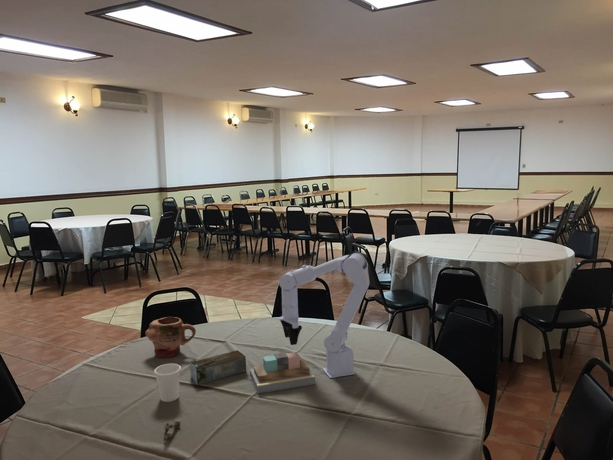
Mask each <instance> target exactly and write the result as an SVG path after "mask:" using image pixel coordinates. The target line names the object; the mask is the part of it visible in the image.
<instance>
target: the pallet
mask: <svg viewBox="0 0 613 460" xmlns="http://www.w3.org/2000/svg"><path fill="white" fill-rule="evenodd" d="M287 354H288V353H286V352H285V351H284V352H279V353H274V354H273V355H274V356H275V357H276V359H277V371H272V372H265V370H264V368H263V364H262V365H256V366H253V369H254V373H255V374H256V377H257V378H258V382H261V381H267V380H274V379H280V378H287V377H293V376H299V375H306V374H310V371H311V370H310V369H311V368H310V367H309V366H308V364H307V363H306V362H305V360H304V359H300V368H293V369H289V368H288V356H287Z"/></svg>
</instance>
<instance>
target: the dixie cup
mask: <svg viewBox="0 0 613 460" xmlns="http://www.w3.org/2000/svg"><path fill="white" fill-rule="evenodd" d="M181 369H182V366H181V365H179V364H177V363H165V364H161V365H159V366H157V367H156V368H154V370H153V372H154V374H155V378H156V382H157V387H158V392H159V397H160V400H161V401H162V402H165V403H170V402H174V401H176V400H177V399H179V394H180V378H181V377H180V376H181Z"/></svg>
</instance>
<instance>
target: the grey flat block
mask: <svg viewBox="0 0 613 460" xmlns="http://www.w3.org/2000/svg"><path fill="white" fill-rule="evenodd" d="M249 376H250V379H251V381H252V383H253V385H254V388H255V390H256V392H257V394H262V393H263V394H264V393H269V392H275V391H282V390H287V389H291V388H298V387H299V388H300V387H305V386H310V385H316V376H315V375H314V374H313V371H311V370H310V374H306V375H299V376H293V377H287V378H280V379H274V380H267V381H261V382H258V378H257V377H256V374H255V373H254V368H250V369H249Z"/></svg>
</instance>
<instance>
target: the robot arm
mask: <svg viewBox="0 0 613 460" xmlns="http://www.w3.org/2000/svg"><path fill="white" fill-rule="evenodd" d="M333 271H337V272H339V273H344V274H345V275H346V276H347V277H348V278H349V279H350V280H351V283H352V284H353V287H352V288H351V291H350V293H349V296H348V298H347V299H346V302H345V304H344V306H343V307H342V310H341V312H340V315H339V317H338V318H337V320H336V323H335V324H334V326H333V328H332V329H331V331H330V332H329V334H328V335H327V336H326V337H325V338H324V342H323V344H324V347H325V349H326V350H325V353H326V354H325V356H326V359H325V361H326V364H325V366H326V367H323V368H322V370H323V372H324V373H325V375H327V377H328V378H329V379H332V378H340V377H345V376H351V375H355V371H354V369H355V367H354V365H355V364H354V363H355V362H354V361H355V360H354V359H355V358H354V353H353V349H352V347H351V346H347V345H346V341H347V339H348V332H349V329H350V326H351V324H352V322H353V319H354V317H355V316H356V314H357V312H358V310H359V307H360V305H361V303H362V301H363V299H364V297H365V294H366V292H367V291H368V289H369V286H370V276H369V264H368V261H367V260H366V258H365V256H364V255H363V254H361V253H359V252H354V253H352V254H346V255H342V256H339V257H336V258H334V259H331V260H329V261H326V262H323V263H321V264H319V265H316V266H312V265H309V264H308V265H307V264H303V265H302V266H301V267H300V268H297V269H291V270H290V271H288V272H286V273H285V274H283V275H282V276H281V277H280V278H278V279H279V280H278V284H279V287H280V288H281V312H282V313H281V316H279V318H278V319H279V321H280V323H281V326H282V329H283V334H284V336H285V339H286V338H287V339H289V344H290V345H291V346H294V345H295V346H296V345H298V339H299V336H300V333H301V330H302V329H303V326H302V325H301V324H300V325H299V319H300V317H299V304H298V303H299V301H298V299H299V298H298V287H300V286H301V285H305V284H308V283H310V282H315V280H316V279H317V276H321V275H323V274H327V273H329V272H330V273H331V272H333Z"/></svg>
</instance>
